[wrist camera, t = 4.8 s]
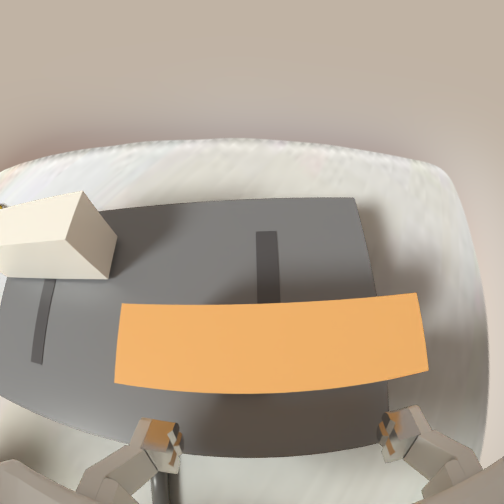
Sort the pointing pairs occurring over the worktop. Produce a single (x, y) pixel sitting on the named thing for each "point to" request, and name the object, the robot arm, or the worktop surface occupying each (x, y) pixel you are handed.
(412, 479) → the worktop surface
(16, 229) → the white switch
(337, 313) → the orange switch
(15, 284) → the switch box
